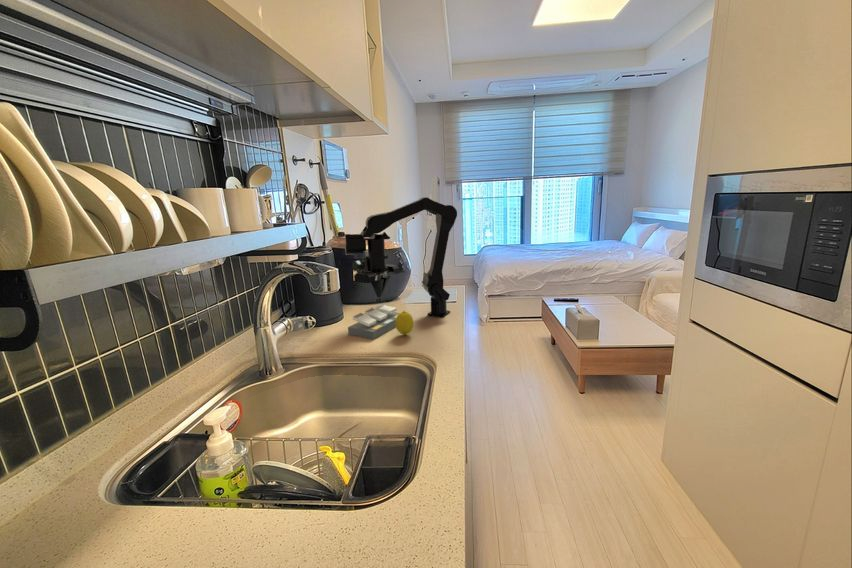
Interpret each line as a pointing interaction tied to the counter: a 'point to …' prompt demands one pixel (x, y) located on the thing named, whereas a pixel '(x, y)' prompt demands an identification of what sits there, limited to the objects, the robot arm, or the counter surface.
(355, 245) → the robot arm
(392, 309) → the switch
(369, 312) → the switch middle
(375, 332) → the switch panel
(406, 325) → the lemon
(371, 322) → the switch
